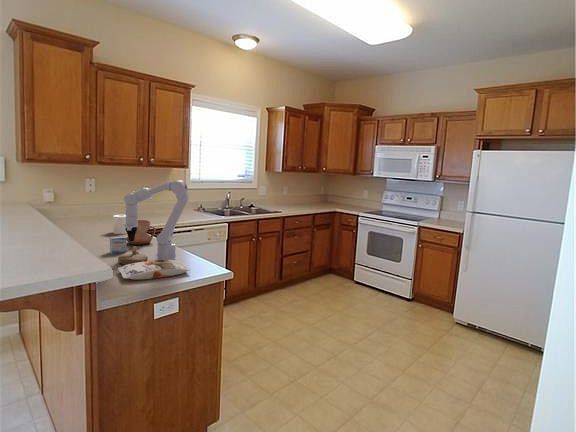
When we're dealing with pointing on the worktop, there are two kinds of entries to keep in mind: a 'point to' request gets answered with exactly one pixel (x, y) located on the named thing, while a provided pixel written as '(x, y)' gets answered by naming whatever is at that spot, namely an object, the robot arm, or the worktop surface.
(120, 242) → the medicine box
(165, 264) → the dog food
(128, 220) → the robot arm
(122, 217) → the toilet paper
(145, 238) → the ceramic jug
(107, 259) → the worktop surface
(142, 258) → the turntable
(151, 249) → the worktop surface
